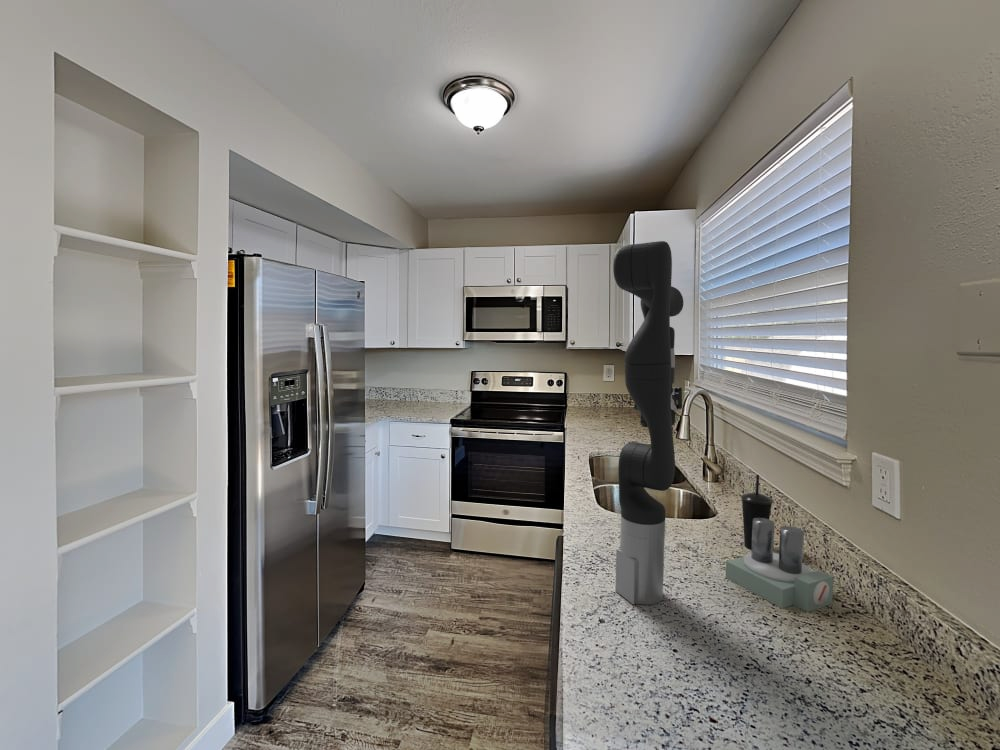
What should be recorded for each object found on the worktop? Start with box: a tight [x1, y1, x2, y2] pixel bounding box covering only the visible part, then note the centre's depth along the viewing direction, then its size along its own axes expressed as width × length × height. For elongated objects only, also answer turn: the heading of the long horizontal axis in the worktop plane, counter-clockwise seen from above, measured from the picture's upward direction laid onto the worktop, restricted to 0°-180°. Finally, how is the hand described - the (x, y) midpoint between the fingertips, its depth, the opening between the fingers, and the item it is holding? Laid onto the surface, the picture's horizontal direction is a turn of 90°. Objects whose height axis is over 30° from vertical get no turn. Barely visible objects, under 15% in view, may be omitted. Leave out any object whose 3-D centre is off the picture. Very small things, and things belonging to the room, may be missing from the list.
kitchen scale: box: [725, 551, 834, 613], centre depth 105 cm, size 15×18×6 cm
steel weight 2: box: [778, 525, 805, 574], centre depth 104 cm, size 4×4×9 cm
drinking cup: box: [740, 474, 774, 550], centre depth 126 cm, size 8×8×20 cm
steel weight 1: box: [750, 518, 775, 563], centre depth 109 cm, size 4×4×9 cm
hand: (657, 426), depth 125 cm, fingers open, 8 cm apart
